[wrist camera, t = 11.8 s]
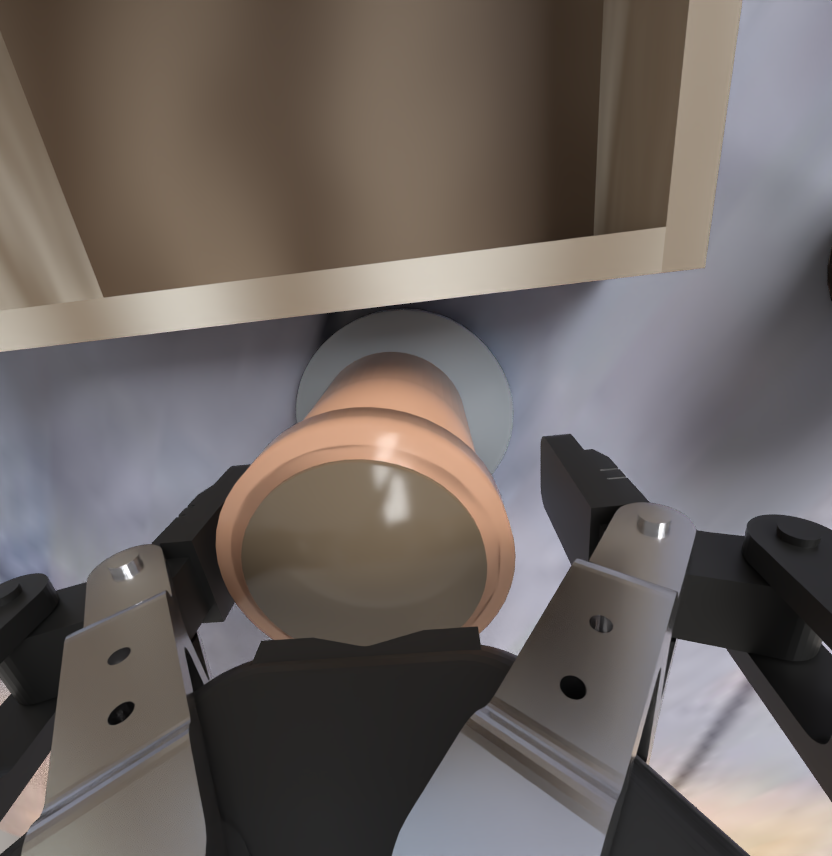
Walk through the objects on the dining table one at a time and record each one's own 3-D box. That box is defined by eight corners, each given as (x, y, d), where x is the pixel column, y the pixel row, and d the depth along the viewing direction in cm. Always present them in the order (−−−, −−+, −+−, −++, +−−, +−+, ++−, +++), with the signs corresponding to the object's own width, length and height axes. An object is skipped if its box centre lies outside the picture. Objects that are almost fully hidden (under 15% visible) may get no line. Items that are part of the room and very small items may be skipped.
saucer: (505, 295, 15) (510, 297, 14) (512, 495, 18) (516, 505, 17) (279, 322, 15) (272, 325, 15) (324, 511, 19) (320, 522, 18)
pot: (468, 334, 15) (515, 418, 7) (477, 486, 17) (518, 670, 9) (297, 352, 15) (168, 449, 7) (329, 498, 17) (255, 684, 10)
